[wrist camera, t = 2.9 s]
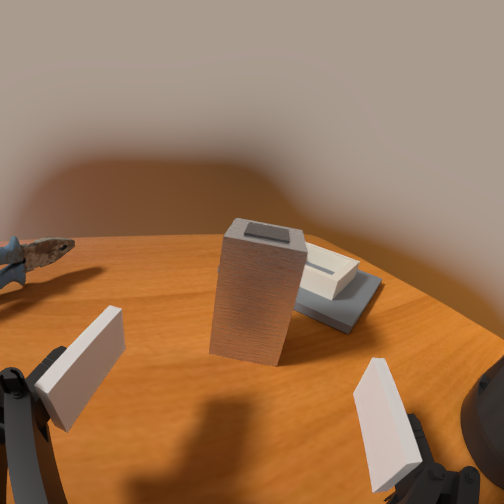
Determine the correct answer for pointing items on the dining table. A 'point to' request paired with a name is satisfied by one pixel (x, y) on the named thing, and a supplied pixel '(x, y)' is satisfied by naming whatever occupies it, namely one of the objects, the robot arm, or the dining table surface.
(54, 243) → the pliers
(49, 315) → the dining table surface
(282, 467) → the dining table surface
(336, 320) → the cradle
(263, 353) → the tall square post
